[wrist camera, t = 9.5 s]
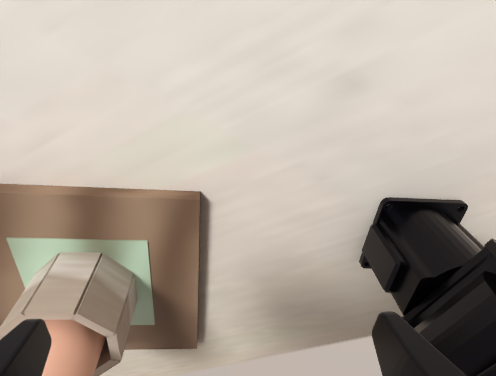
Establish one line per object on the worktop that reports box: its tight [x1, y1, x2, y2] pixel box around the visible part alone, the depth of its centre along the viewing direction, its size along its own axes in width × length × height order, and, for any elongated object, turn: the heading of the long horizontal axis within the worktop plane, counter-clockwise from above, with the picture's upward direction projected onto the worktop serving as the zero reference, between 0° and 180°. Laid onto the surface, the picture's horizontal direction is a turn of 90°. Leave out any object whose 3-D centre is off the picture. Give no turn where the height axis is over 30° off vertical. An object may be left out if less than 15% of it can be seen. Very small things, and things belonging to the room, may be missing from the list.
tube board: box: [0, 184, 200, 376], centre depth 22 cm, size 16×16×6 cm
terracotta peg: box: [42, 319, 106, 376], centre depth 20 cm, size 4×4×9 cm
